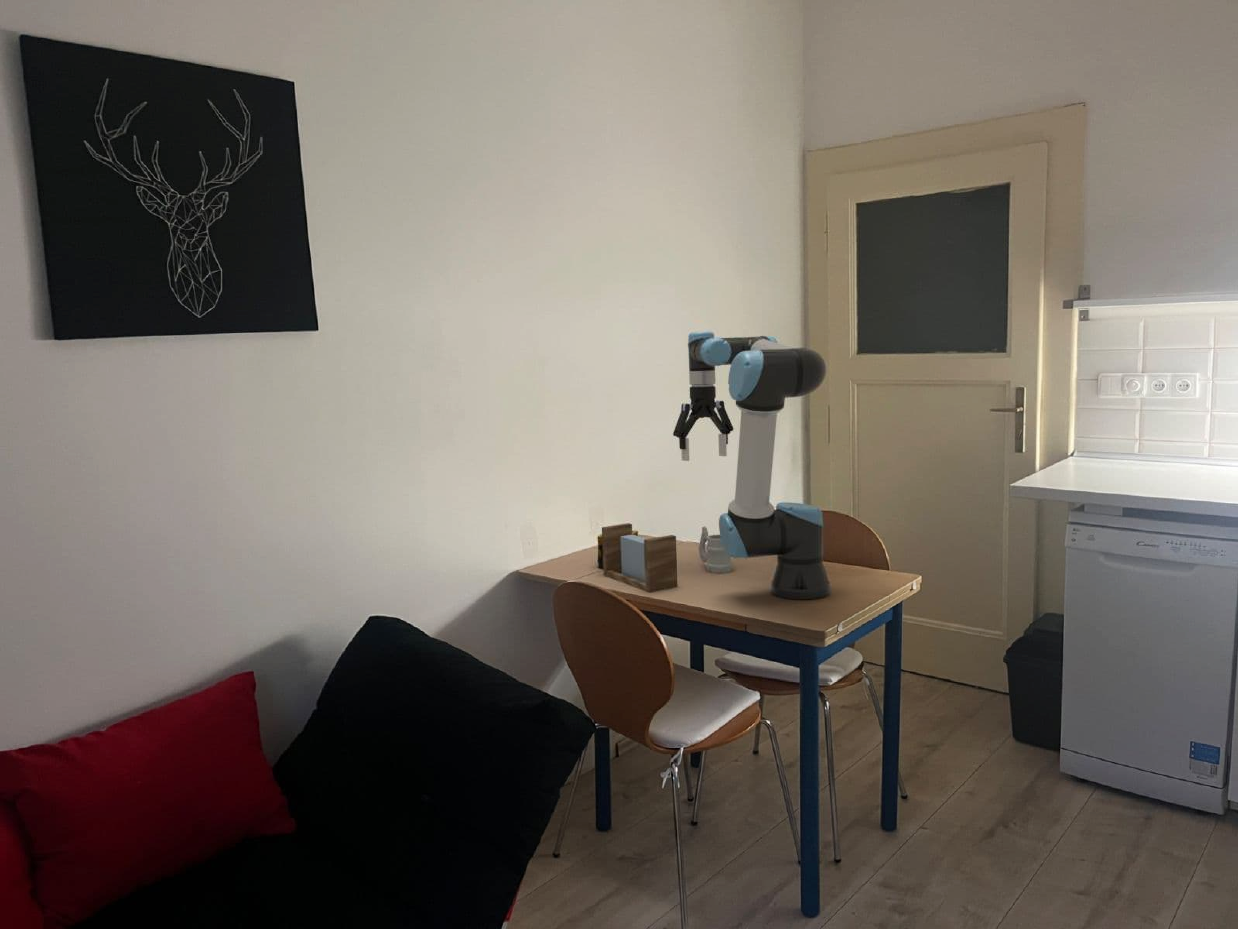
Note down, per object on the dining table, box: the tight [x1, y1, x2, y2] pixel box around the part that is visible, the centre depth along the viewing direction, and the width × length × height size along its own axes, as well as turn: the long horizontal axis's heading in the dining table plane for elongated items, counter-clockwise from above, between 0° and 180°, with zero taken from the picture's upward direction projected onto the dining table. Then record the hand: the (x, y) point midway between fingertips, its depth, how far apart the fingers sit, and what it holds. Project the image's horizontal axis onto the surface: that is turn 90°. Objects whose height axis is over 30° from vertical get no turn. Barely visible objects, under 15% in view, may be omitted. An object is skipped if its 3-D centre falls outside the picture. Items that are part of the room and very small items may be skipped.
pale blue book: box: [621, 535, 647, 583], centre depth 257 cm, size 12×4×12 cm, turn 32°
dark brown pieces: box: [597, 530, 639, 570], centre depth 276 cm, size 10×10×10 cm
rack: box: [601, 523, 679, 593], centre depth 257 cm, size 24×9×14 cm, turn 32°
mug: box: [698, 526, 734, 574], centre depth 267 cm, size 8×12×12 cm, turn 38°
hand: (704, 458), depth 269 cm, fingers open, 13 cm apart
